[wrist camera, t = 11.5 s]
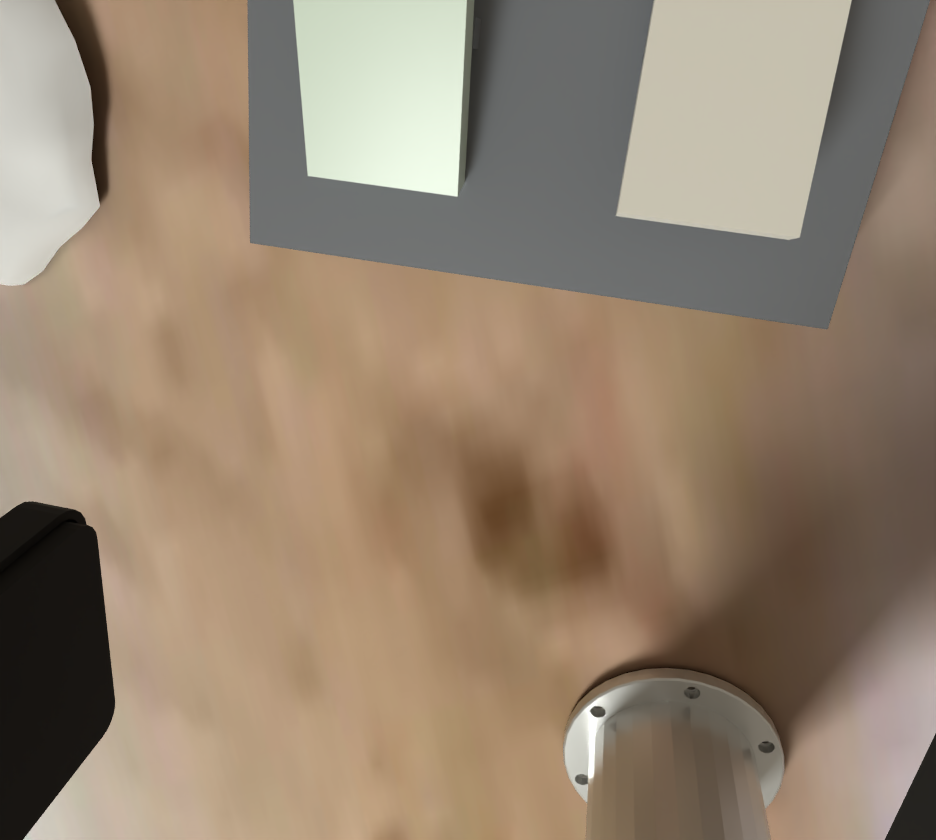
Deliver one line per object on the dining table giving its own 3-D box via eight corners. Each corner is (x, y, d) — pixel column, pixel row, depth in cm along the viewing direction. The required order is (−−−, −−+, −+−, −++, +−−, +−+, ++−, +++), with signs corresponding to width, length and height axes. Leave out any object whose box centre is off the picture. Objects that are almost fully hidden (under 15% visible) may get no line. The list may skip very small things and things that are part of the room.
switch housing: (801, 296, 36) (834, 337, 30) (293, 222, 38) (239, 248, 33) (944, -194, 28) (1022, -257, 23) (299, -242, 31) (230, -310, 25)
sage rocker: (464, 181, 31) (456, 198, 30) (319, 161, 32) (306, 178, 31) (482, -161, 24) (472, -157, 23) (295, -177, 25) (276, -173, 24)
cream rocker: (788, 239, 27) (801, 237, 26) (615, 215, 28) (617, 211, 27) (864, -109, 25) (882, -134, 24) (675, -125, 26) (681, -151, 25)
